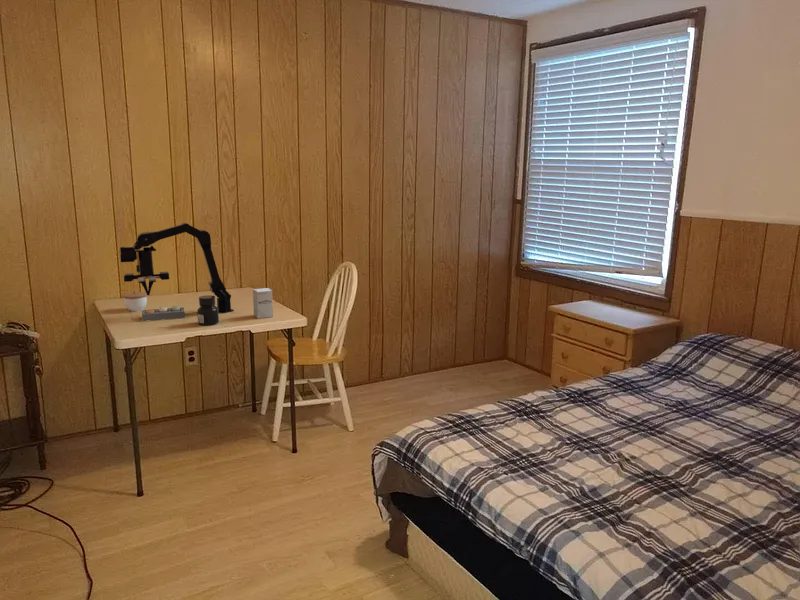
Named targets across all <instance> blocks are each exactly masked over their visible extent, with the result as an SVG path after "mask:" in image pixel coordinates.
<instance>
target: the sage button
mask: <svg viewBox="0 0 800 600" xmlns="http://www.w3.org/2000/svg"><path fill="white" fill-rule="evenodd" d="M180 307H181V306H180V305H173V306H172V307H171V308H172V311H180Z"/></svg>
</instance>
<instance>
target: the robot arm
mask: <svg viewBox="0 0 800 600" xmlns="http://www.w3.org/2000/svg"><path fill="white" fill-rule="evenodd" d="M183 233H187V234H189V235H191V236H192V237H194V238H196V241H197V242H198V244H199V247H200V248H201V251H202V253H203V256H204V260H205V263H206V264H205V265H206V266H207V269H208V273H209V276H210V281H208V282H207V283H208V286H209V291H210V292H211V293H212V294H214V296H215V297H216V307H217V308H218V313H221V314H223V313H224V314H225V313H229V311H230V312H234V310H235V309H233V308H232V306H231V305H232V304H231V303H232V302H231V299H232V295H231V293H230V292H228V291H227V289H226V286H225V284H224V283H223V281H222V278H220V274H219V270H218V267H217V264H216V260H215V257H214V255H213V250H212V240H211V234H210V232H208V231H207V230H205V229H199V228H196V227H194V226H193V225H191V224H189V223H187V222H183V223H181V224H177V225H174V226H171V227H170V226H169V227H167V228H164V229H160V230H155V231H145V232H140V233H138V234H137V237H136V241H135V243H134V244H133V245H132V246H120V247H119V252H120V253H119V258H120V263H135V261H136V260H137V259H138V264H136V266H135V267H136V273H139V274H134V273H132V272H131V273H125V274H124V275H123V281H124V283H125V282H126V283H127V282H133V281H134V280H137V281H138V282H137V283H138V284H140V285H142V287H143V288H144V291H145V293H147V296H150V294H151V291H152V287H153V285H154V283H156V282H157V279H161V280H162V281H163V280H170V272H169V271H159V273H155V272H154V264H153V263H154V262H153V252H156V251H157V249H156V248H155V247H154V244H155V243H157V242H158V241H160V240H164V239H167V238H170V237H171V238H172V237H174V236H177V235H181V234H183ZM137 255H138V256H137ZM147 280H148V283H147ZM147 284H148V286H147Z"/></svg>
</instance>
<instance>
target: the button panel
mask: <svg viewBox="0 0 800 600" xmlns="http://www.w3.org/2000/svg"><path fill="white" fill-rule="evenodd" d="M148 310H149V309H143V310H141V320H142V322H147V321H146V320H151V321H162V319H164V320H175V319H176V318H177V319H185V318H186V317H185V307H184V306H180V311H172V307H170V308H168V307H167V310H168V312H159V308H155V309H153V308H152V309H151V310H155V313H146V311H148ZM177 319H176V320H177Z"/></svg>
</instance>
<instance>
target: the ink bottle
mask: <svg viewBox="0 0 800 600" xmlns="http://www.w3.org/2000/svg"><path fill="white" fill-rule="evenodd" d="M198 301H199V302H198V303H199V307H198V308H197V313H196V314H197V323H198V325H200V326H214V325H218V323H219V322H220V320H219V319H220V317H219V316H220V315H219V312H218V308H217V305H216V295H211V294H210V295H207V294H206V295H200V296H198Z"/></svg>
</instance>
